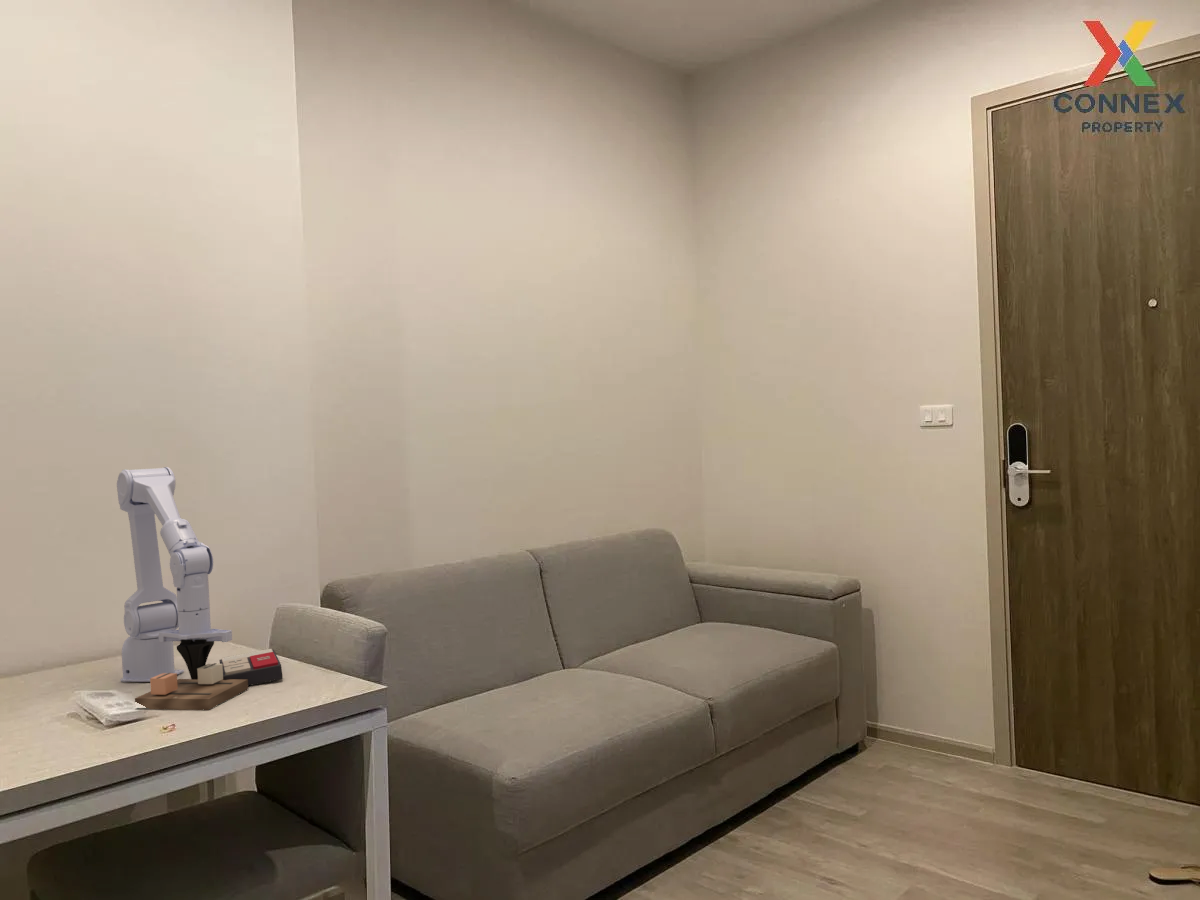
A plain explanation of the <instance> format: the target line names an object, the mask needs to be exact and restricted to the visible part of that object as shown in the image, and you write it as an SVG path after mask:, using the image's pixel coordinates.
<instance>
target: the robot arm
mask: <svg viewBox="0 0 1200 900" xmlns="http://www.w3.org/2000/svg"><path fill="white" fill-rule="evenodd" d="M176 483H177V482H176V476H175V473H174V471H173V470H172V468H170V467H168V466H163V467H158V468H157V467H155V468H154V467H153V468H140V469H139V468H138V469H122V470H121V471H120V472H119V474H118V476H117V480H116V491H117V498H118V499H117V500H118V504H119V509H120V510H121V511H124V512H125V513H127V515H128V521H129V528H130V536H131V537H130V538H131V545H132V546H131V547H132V552H133V553H132V555H133V563H134V572H135V579H136V588H137V590H136V591H135V592H134V593H132V594H131V596H129V597H128V599H127V600H126V601H125V602H124V614H123V627H124V631H125V632H126V634H127V635H128V637H127V638H126V639H125V640H124V641H123V643H122V647H121V665H122V667H121V668H122V678H120V681H119V682H125V683H127V682H129V683H131V682H133V683H134V682H135V683H138V682H139V683H140V682H143V683H146V682H147V683H148V682H149V683H150V678H152V677H155V676H157V675H160V674H162V673H177V676H178V675H180V674H182V673H185V670H184V669H175V654H174V653H175V652H174V642H179V644H178V645H176V650H177V651H178V653H179V654H180V656H181V657H182V659H183V661H184V662H185V665H186V668H187V670H188V673H189V676H190V679H194V680H197V679H198V672H197V668H200V667H202V666H204V665H207V661H208V657H209V655H210V654H211V650H212V648H213V647H214V645H215V642H221V643H228V642H230V641H233V631H232V629H220V628H219V629H218V628H212V626H211V624H212V623H211V607H210V605H211V604H210V587H209V575H210V574H211V573H212V571H213V569H214V556H213V553H212V550H211V547H209V546H208V545H206V544H204V542H202V541H199V538H198V537H197V534H196V533H195V531H194V529H193V527H192V525H191V522H190V521H188V519H184V518H181V515H180V511H179V509H178V507H177V504H176V500H175V498H174V494H175V489H176V485H177V484H176ZM156 517H157V519H158V521H159V522H160V523H161V528H160V531H159V534H160V537H161V539H162V540H163V541H162V542H163V543H164V545H165V547H166V549H167V551H168V554H169V555H170V559H169V570H170V572H171V576H172V581H173V583H172V584H173V586H174V588H176V593H174V592H173V591H171V590H170V589H168V588H166V587H165V586H164V582H163V575H162V566H161V556H160V550H159V541H158V533H157V525H156ZM153 602H155V603H153ZM145 603H150V604H145ZM141 604H144V605H141Z"/></svg>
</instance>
